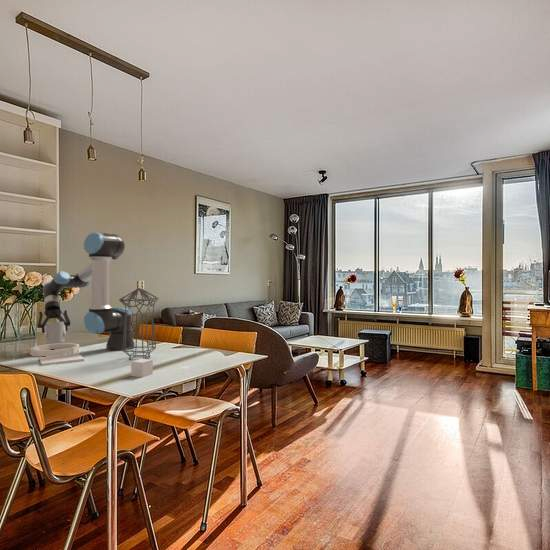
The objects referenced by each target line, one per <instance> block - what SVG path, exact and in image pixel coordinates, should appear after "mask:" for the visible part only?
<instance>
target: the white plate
mask: <svg viewBox="0 0 550 550" xmlns="http://www.w3.org/2000/svg"><path fill="white" fill-rule="evenodd" d="M63 348H64V349H63ZM51 349H54V350H51ZM77 351H79V352H80V344H79V343H74V342H73V343H72V342H69V343H65V342H62V343H55V344H41V345H36V346H33V347H30V348H29V356H30V355H32V356H33V357H36V356H56V355H65V354H70V353H72V354H75V353H74V352H76V353H78V352H77Z"/></svg>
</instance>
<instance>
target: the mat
mask: <svg viewBox="0 0 550 550" xmlns="http://www.w3.org/2000/svg"><path fill="white" fill-rule="evenodd" d="M38 360H40V361H39V363H40V365H41V366H49V365H50V364H52V365H59V364H60V363H61V364H68V363H69V362H70V363H76V362H77V361H79V362H84V361H85V358H84V357H83V356H82V355H81V354H80V353H79V352H76V353H72V354H66V355H56V356H46V357H38ZM77 363H78V362H77ZM50 366H51V365H50Z"/></svg>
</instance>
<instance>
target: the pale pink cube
mask: <svg viewBox="0 0 550 550" xmlns="http://www.w3.org/2000/svg"><path fill="white" fill-rule="evenodd" d="M153 362H154V361H153V359H149V358H148V359H147V358H146V359H145V358H144V359H143V358H139V360H130V370H131V371H130V372H131V374H130V376H131V377H139V378H145V377H148V376H150V375H151V376H152V375H153V374H154V372H153V368H154V367H153V365H154V364H153Z"/></svg>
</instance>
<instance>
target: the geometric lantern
mask: <svg viewBox="0 0 550 550" xmlns="http://www.w3.org/2000/svg"><path fill="white" fill-rule="evenodd" d="M138 294H140V297H141V298H138ZM126 297H127V298H126ZM125 298H126V299H125ZM159 299H160V298H159V297H157V296H155V295H153V294H152V293H150V292H148V291H146V290H145V289H143V288H140V287H137V288H136V289H135V290H133V291H132V292H129V293H128V294H126V295H125V296H122V297H121V298H119V299H118V301H119V302H120V303H122V304H123V306H124V308H125V323H124V336H123V348H122V350H121V351H122V352H123V353H125V354H126V355H127V356H128V360H129V361H135V360H139V359H140V358H139V357H142V359H149V358H151V353H153V351H155V350H156V348H157V347H156V346H157V345H156V343H157V342H156V333H155V331H156V330H155V323H154V322H155V321H154V313H155V304H156V303H157V301H158V300H159ZM131 302H134V305H131ZM145 302H148V303H147V304H145ZM136 303H138V304H136ZM139 305H141V306H140V307H138V306H139ZM143 306H146V307H147V309H146V312H145V313H144V314H143V313H142V312H141V309H142V307H143ZM135 307H136V309H137V312H136V313H133V311H132V310H131V308H135ZM151 307H152V312H151V310H150V308H151ZM126 308H127V309H128V310H129V309H130V311H131V314H129V315H126V314H127V312H128V310H127V312H126ZM148 311H149V314H147V312H148ZM127 316H131V347H130V348H131V350H130V348H127V349H126V322H127ZM149 316H151V345H152V346H151V345H150V346H149V336H148V335H149V334H148V319H147V318H148V317H149ZM134 317H135V347H132V338H133V331H134ZM138 317H141V344H142V345H141V346H138V343H137V342H138V341H137V339H138ZM144 317H145V330H146V331H145V332H146V333H145V334H146V346H144V320H143V319H144ZM124 337H125V350H124ZM137 348H138V349H140V348H141V350H137ZM144 348H146V350H144ZM149 348H150V349H149ZM134 349H135V350H134ZM129 352H130V353H129ZM138 354H139V355H138ZM134 357H138V358H139V359H132V358H134Z"/></svg>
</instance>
